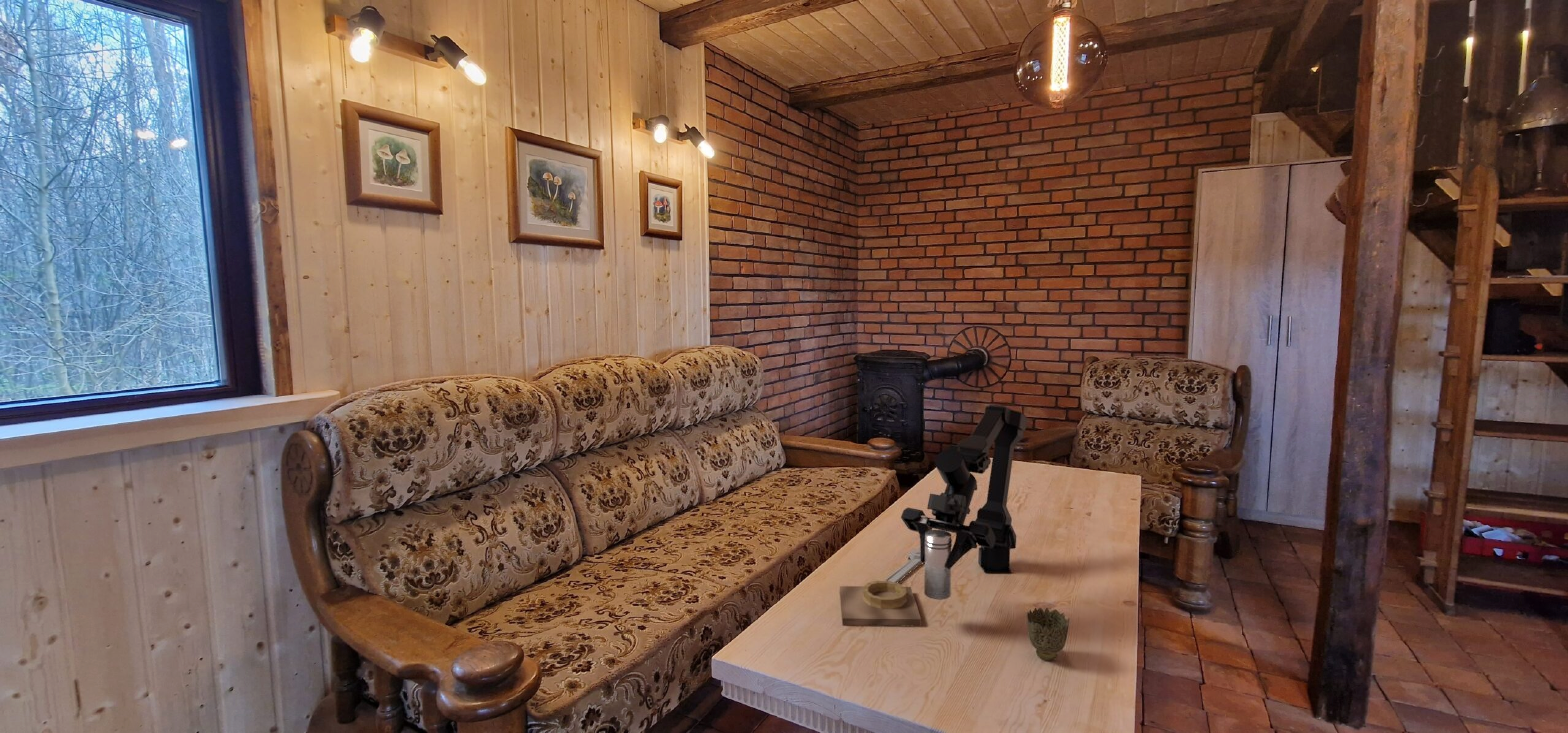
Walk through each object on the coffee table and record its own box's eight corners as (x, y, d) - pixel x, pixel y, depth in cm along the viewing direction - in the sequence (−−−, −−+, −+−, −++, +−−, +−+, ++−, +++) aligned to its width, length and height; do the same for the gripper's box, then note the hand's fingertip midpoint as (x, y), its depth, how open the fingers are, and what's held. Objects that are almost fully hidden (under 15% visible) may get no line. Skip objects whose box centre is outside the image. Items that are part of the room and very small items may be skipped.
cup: (1018, 647, 129) (1019, 607, 129) (1055, 645, 130) (1057, 606, 129) (1036, 669, 122) (1037, 627, 121) (1075, 667, 123) (1077, 625, 122)
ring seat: (910, 593, 153) (910, 578, 152) (921, 626, 138) (921, 609, 138) (839, 592, 154) (839, 577, 153) (842, 625, 139) (842, 609, 138)
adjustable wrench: (888, 593, 154) (888, 586, 154) (865, 586, 158) (865, 578, 158) (940, 558, 173) (940, 551, 173) (917, 552, 177) (917, 546, 177)
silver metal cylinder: (949, 588, 140) (950, 530, 138) (952, 600, 134) (953, 539, 133) (922, 587, 140) (923, 529, 139) (925, 599, 135) (925, 539, 133)
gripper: (905, 470, 143) (879, 536, 136) (991, 485, 132) (969, 557, 125) (921, 496, 150) (897, 560, 143) (1004, 512, 139) (983, 583, 132)
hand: (934, 564), depth 135 cm, fingers closed on silver metal cylinder, 5 cm apart
